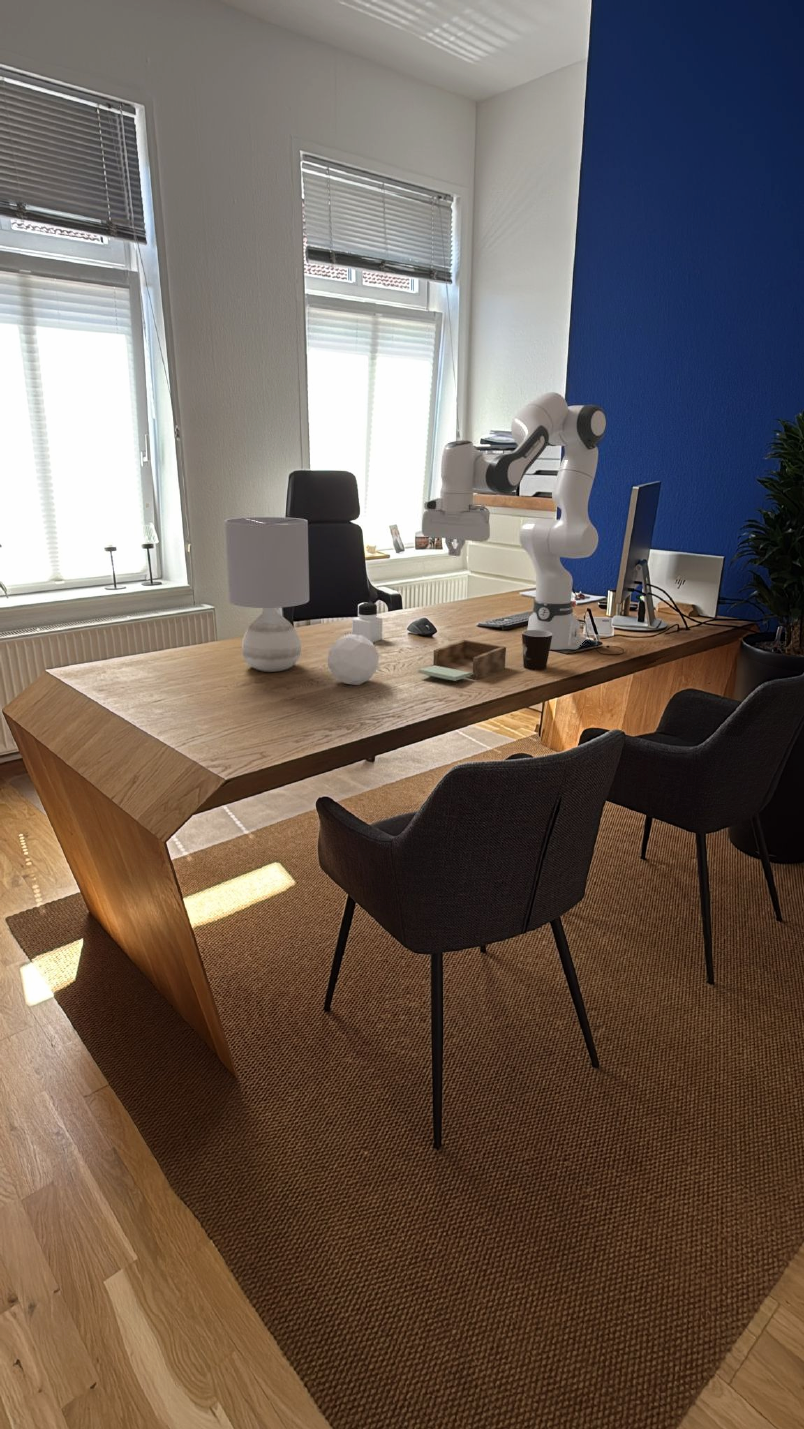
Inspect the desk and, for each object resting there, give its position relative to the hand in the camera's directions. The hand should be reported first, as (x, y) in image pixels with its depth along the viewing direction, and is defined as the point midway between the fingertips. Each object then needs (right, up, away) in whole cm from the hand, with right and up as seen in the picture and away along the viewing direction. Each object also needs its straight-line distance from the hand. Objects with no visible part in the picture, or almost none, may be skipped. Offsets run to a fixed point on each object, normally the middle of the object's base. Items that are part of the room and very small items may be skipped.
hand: (454, 555), depth 217 cm
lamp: (-51, -31, +4) cm, 60 cm away
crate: (+5, -31, +6) cm, 32 cm away
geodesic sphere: (-27, -36, -9) cm, 46 cm away
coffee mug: (+24, -30, +10) cm, 40 cm away
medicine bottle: (-26, -20, +37) cm, 49 cm away
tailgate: (-1, -32, -2) cm, 32 cm away
